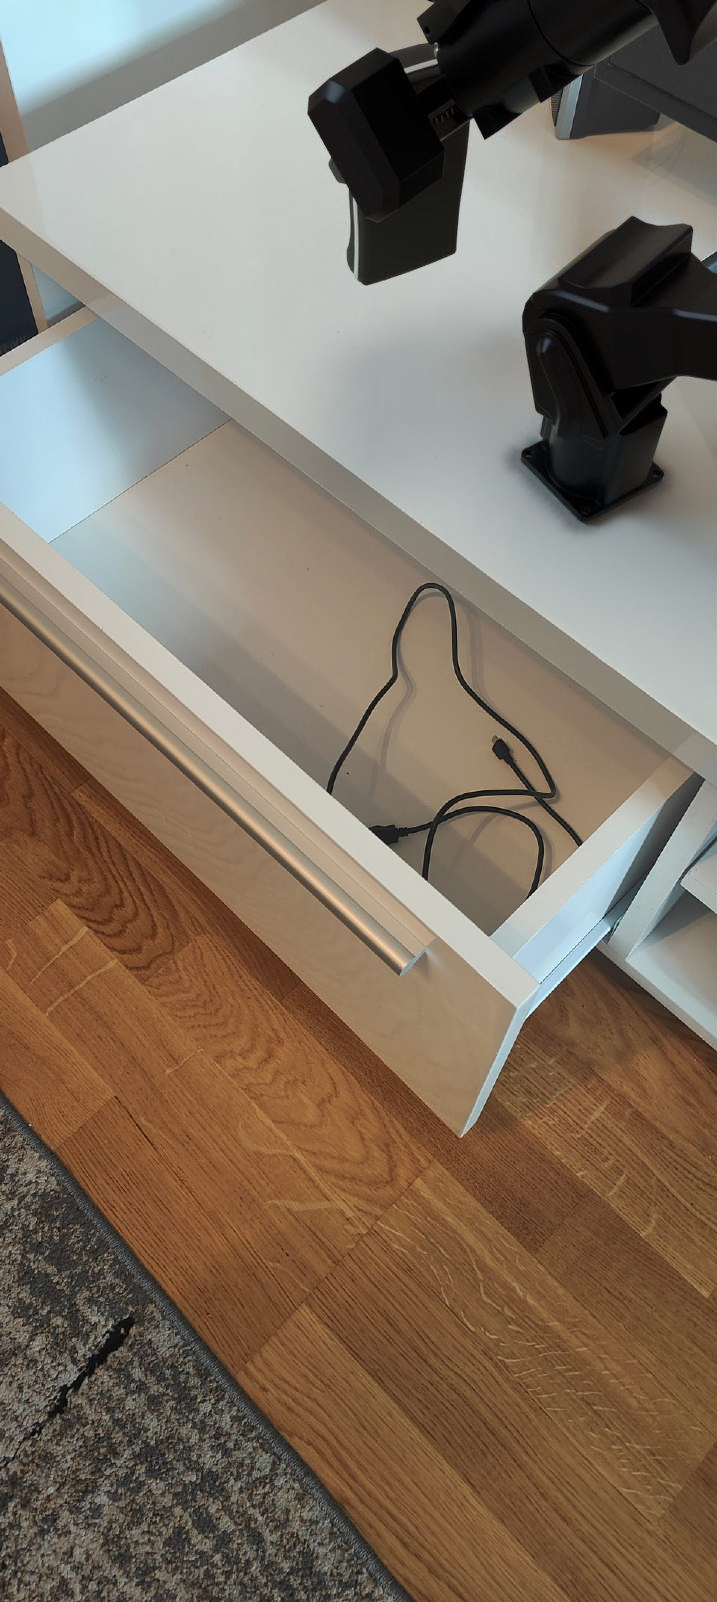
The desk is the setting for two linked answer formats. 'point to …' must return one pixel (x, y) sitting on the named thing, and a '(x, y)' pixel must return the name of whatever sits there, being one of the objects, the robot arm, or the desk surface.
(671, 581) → the desk surface
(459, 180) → the battery charger
